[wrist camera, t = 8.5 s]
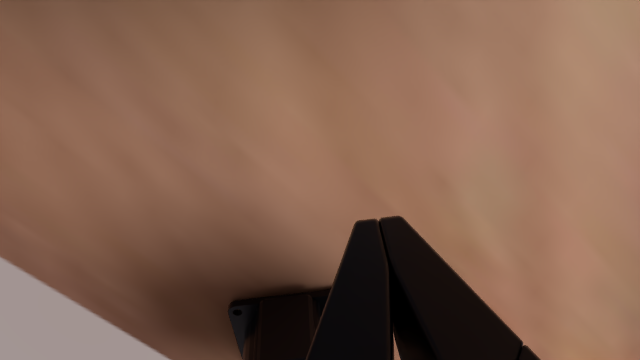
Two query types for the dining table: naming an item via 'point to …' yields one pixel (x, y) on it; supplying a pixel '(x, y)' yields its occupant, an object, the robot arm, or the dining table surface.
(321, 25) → the dining table surface
